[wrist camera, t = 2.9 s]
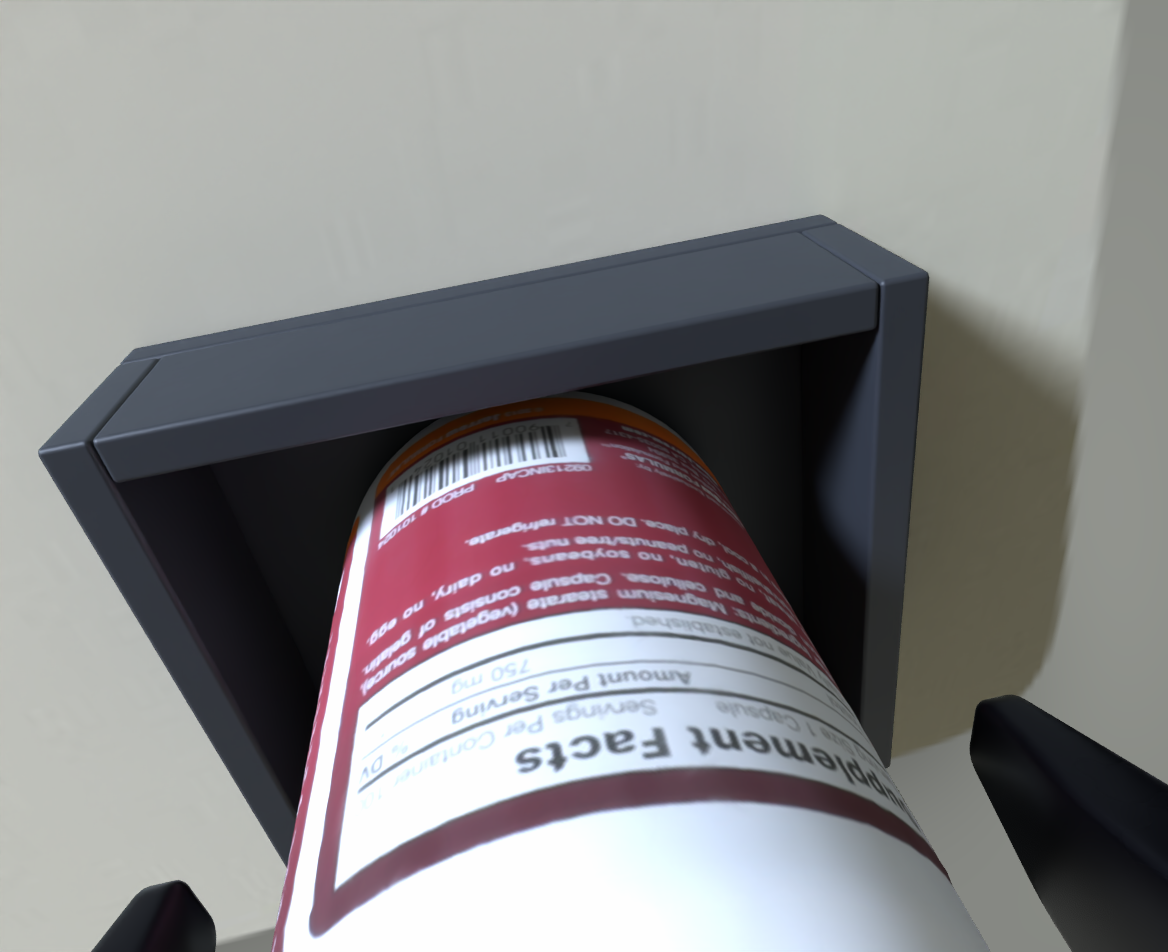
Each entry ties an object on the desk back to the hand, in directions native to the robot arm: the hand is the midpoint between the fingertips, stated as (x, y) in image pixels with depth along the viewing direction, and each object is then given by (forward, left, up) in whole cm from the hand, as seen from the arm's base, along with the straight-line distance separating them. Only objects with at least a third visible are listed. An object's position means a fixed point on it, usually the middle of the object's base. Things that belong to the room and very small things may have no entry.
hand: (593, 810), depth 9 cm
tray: (0, 0, -6) cm, 6 cm away
